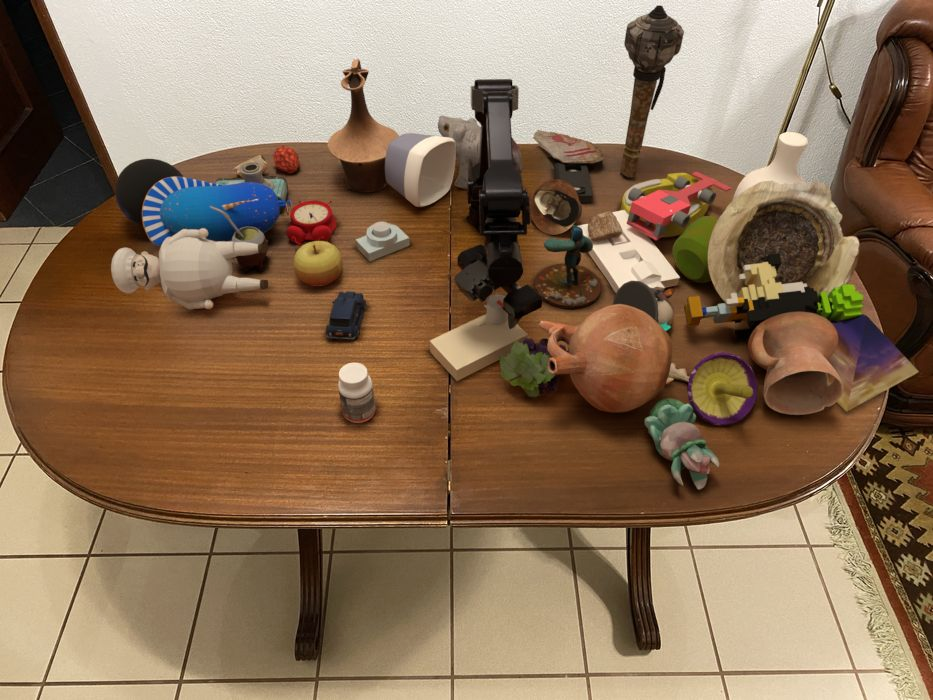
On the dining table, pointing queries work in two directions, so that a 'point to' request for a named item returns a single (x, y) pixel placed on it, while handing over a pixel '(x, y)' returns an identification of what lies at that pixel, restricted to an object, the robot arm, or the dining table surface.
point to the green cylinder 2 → (695, 249)
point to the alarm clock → (311, 222)
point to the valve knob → (496, 309)
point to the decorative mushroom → (722, 389)
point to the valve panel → (474, 345)
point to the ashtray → (654, 185)
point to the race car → (669, 204)
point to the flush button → (381, 229)
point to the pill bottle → (356, 393)
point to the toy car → (346, 316)
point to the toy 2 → (774, 300)
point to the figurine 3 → (647, 301)
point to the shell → (256, 159)
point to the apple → (318, 263)
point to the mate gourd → (250, 237)
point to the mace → (647, 74)
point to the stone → (603, 226)
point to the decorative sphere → (140, 185)
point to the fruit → (530, 367)
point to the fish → (677, 374)
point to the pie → (782, 237)
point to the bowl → (421, 167)
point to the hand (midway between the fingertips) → (497, 314)
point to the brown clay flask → (361, 138)
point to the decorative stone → (286, 159)
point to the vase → (779, 164)
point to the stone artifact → (568, 148)
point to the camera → (259, 180)
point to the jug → (612, 357)
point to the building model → (631, 258)
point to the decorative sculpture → (866, 361)
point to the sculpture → (469, 145)
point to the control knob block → (381, 243)
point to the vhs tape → (575, 179)
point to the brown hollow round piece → (555, 207)
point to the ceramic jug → (796, 362)
